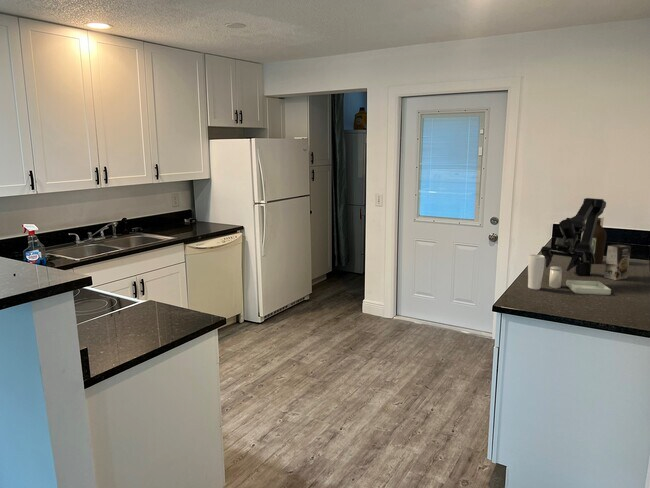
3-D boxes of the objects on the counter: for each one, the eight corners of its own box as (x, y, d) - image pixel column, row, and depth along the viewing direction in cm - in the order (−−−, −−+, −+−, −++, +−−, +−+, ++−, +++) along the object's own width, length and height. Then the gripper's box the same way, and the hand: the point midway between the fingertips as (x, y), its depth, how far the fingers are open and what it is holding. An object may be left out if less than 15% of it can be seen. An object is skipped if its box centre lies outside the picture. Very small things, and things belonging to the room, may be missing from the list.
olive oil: (591, 259, 285) (595, 216, 281) (608, 263, 276) (613, 218, 271) (577, 261, 281) (582, 217, 276) (594, 264, 271) (599, 219, 267)
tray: (598, 286, 228) (599, 281, 227) (610, 295, 214) (610, 289, 214) (566, 285, 230) (566, 279, 230) (575, 293, 217) (576, 287, 216)
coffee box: (616, 280, 239) (620, 247, 236) (603, 277, 244) (607, 245, 241) (627, 278, 243) (631, 245, 240) (615, 275, 249) (618, 243, 246)
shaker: (558, 285, 229) (560, 266, 228) (562, 288, 224) (563, 268, 223) (547, 285, 230) (549, 266, 229) (550, 287, 225) (552, 268, 224)
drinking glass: (541, 287, 226) (544, 254, 223) (542, 291, 220) (545, 257, 217) (525, 285, 228) (528, 253, 226) (526, 289, 222) (529, 256, 219)
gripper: (544, 229, 233) (532, 255, 228) (586, 234, 220) (574, 261, 214) (549, 243, 240) (537, 269, 235) (591, 249, 227) (579, 276, 221)
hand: (556, 269), depth 226 cm, fingers open, 9 cm apart
